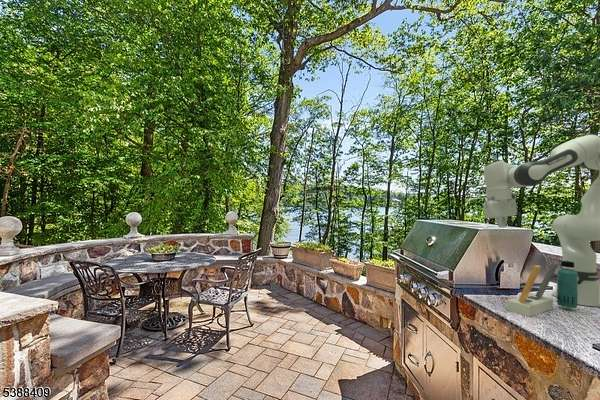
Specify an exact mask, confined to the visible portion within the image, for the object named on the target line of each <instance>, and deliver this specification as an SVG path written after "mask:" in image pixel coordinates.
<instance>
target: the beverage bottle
mask: <svg viewBox="0 0 600 400" xmlns="http://www.w3.org/2000/svg"><path fill="white" fill-rule="evenodd" d="M560 262H561V263H560V266H561V268H562V267H563V266H564V267H572V268H573V267H575V266H574V262H570V261H563V260H562V261H560ZM561 268H559V269H558V270H557V278H556V287H557V297H556V303H557V305H558V306H560V307H565V308H567V309H576V308H578V304H577V303H578V302H577V295H578V294H577V279H578V273H577V272H576V271H574V270H571V269H564V268H562V269H561Z"/></svg>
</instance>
